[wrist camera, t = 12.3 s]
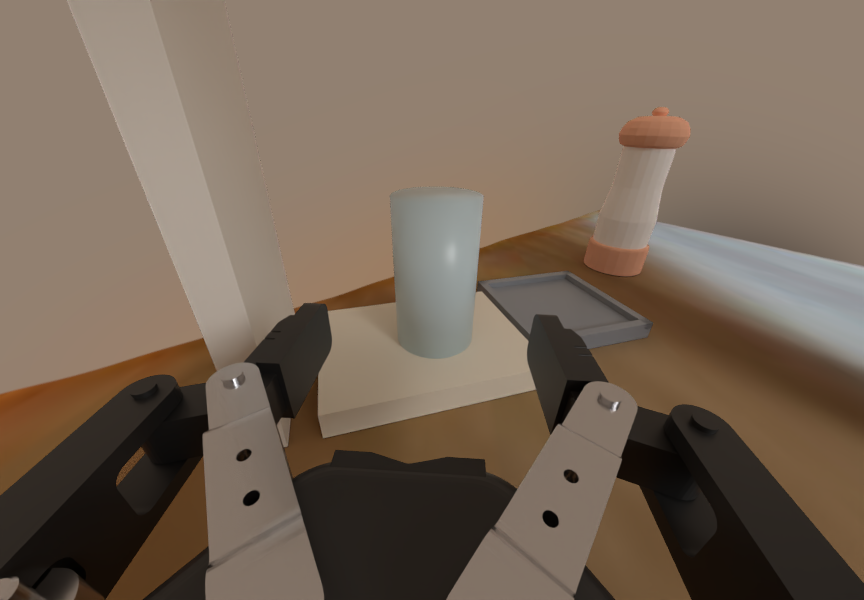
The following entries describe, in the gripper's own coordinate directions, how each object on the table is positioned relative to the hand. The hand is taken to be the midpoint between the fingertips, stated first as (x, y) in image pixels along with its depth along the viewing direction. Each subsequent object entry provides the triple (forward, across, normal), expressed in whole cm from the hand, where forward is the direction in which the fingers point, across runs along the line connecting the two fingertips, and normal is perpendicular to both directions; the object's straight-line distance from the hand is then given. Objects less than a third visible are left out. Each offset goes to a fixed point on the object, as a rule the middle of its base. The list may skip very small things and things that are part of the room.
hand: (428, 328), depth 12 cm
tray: (+19, -12, +10) cm, 24 cm away
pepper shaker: (+33, -24, +10) cm, 42 cm away
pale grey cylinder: (+11, 0, +8) cm, 14 cm away
